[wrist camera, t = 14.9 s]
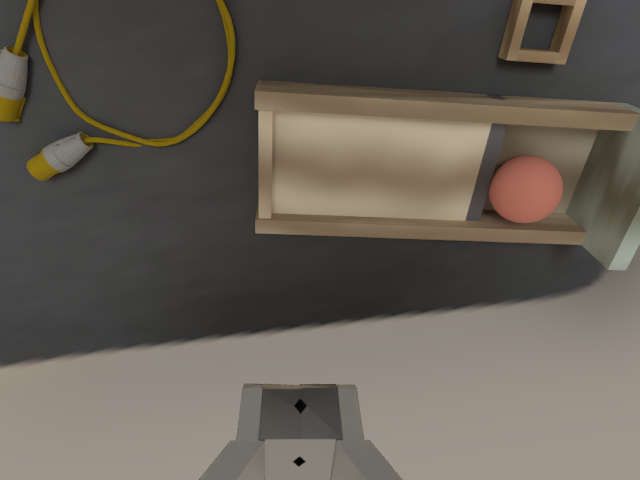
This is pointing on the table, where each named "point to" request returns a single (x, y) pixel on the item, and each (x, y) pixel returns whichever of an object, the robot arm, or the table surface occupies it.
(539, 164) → the ball
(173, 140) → the extension cord
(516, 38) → the hollow square frame
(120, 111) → the table surface
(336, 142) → the tray
